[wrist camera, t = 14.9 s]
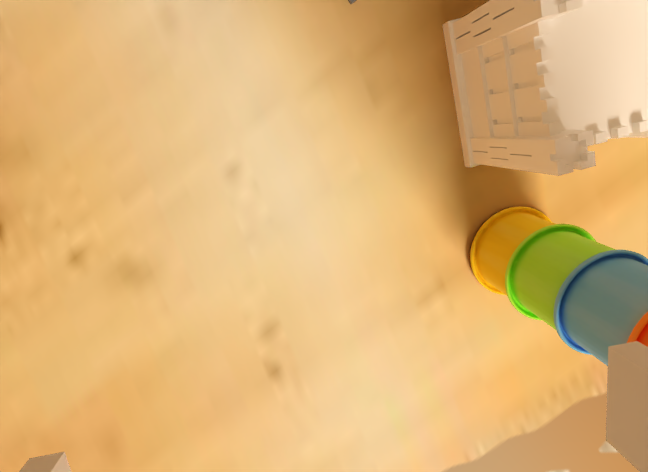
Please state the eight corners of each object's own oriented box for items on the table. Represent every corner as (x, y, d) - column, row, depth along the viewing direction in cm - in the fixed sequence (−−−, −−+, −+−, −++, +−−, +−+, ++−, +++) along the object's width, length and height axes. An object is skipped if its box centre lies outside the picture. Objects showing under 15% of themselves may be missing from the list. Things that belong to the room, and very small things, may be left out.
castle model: (577, -9, 42) (737, -86, 27) (589, 133, 45) (735, 132, 31) (442, 25, 41) (531, -35, 27) (464, 166, 45) (554, 181, 30)
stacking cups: (571, 226, 48) (1269, 443, 14) (527, 305, 49) (1054, 665, 16) (494, 191, 46) (1093, 347, 12) (452, 275, 47) (871, 612, 14)
